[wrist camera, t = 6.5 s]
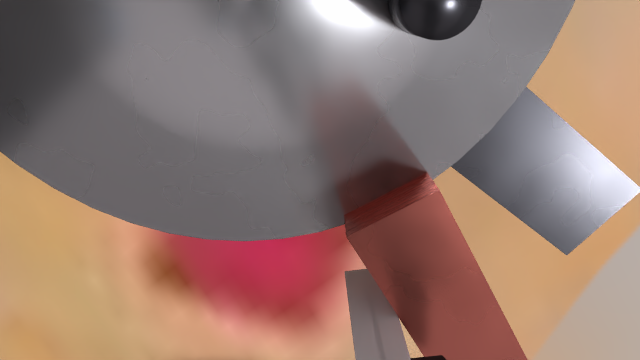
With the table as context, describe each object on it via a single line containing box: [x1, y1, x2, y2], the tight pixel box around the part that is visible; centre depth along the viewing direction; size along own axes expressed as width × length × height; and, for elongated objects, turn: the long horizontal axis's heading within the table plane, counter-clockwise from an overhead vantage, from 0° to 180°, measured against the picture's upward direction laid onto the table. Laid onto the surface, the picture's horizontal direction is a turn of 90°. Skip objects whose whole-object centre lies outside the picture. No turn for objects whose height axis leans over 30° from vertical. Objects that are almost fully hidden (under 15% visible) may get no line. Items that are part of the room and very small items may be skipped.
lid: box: [0, 0, 575, 360], centre depth 9 cm, size 23×17×4 cm
